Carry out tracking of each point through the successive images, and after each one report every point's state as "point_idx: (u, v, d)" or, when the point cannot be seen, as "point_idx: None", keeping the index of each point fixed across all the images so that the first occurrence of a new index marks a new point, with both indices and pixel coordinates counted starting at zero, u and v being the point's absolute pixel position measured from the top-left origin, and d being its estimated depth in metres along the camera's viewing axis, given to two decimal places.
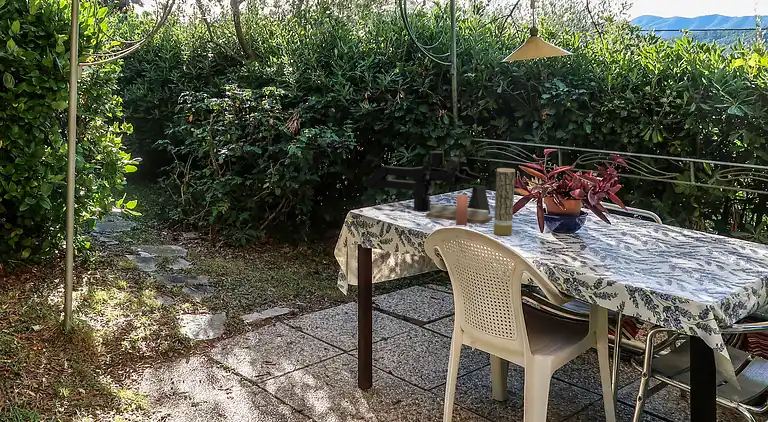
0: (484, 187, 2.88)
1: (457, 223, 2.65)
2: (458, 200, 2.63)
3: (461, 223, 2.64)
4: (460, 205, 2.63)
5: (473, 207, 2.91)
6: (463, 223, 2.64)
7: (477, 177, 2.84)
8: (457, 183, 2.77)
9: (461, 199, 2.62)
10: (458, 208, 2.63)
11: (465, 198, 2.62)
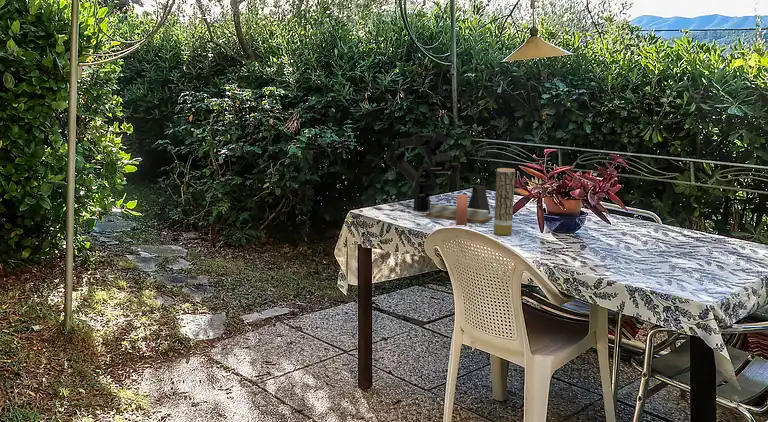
0: (484, 187, 2.88)
1: (457, 223, 2.65)
2: (458, 200, 2.63)
3: (461, 223, 2.64)
4: (460, 205, 2.63)
5: (473, 207, 2.91)
6: (463, 223, 2.64)
7: (453, 183, 2.78)
8: (426, 178, 2.77)
9: (461, 199, 2.62)
10: (458, 208, 2.63)
11: (465, 198, 2.62)
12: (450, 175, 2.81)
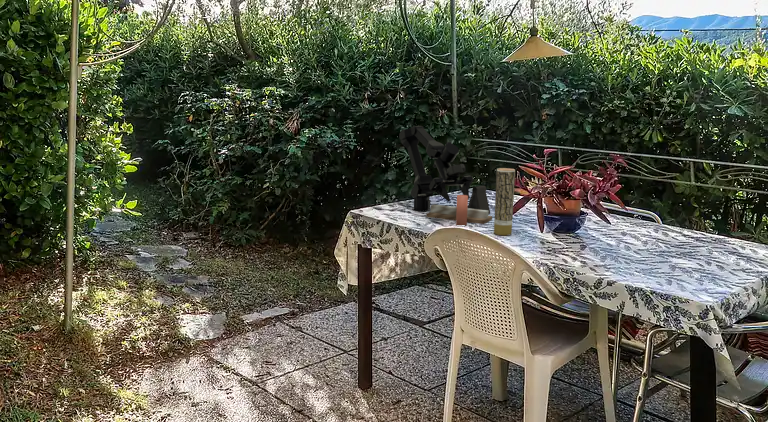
0: (484, 187, 2.88)
1: (457, 223, 2.65)
2: (458, 200, 2.63)
3: (461, 223, 2.64)
4: (460, 205, 2.63)
5: (473, 207, 2.91)
6: (463, 223, 2.64)
7: None
8: (438, 191, 2.68)
9: (461, 199, 2.62)
10: (458, 208, 2.63)
11: (465, 198, 2.62)
12: (463, 188, 2.72)
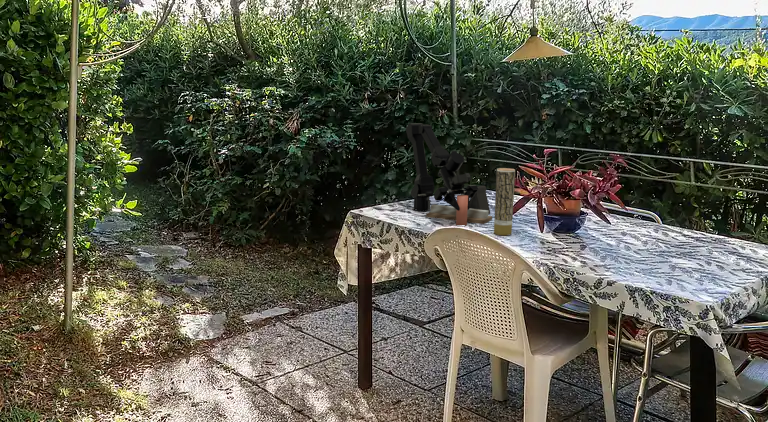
0: (484, 187, 2.88)
1: (457, 223, 2.65)
2: (458, 200, 2.63)
3: (461, 223, 2.64)
4: (460, 205, 2.63)
5: (473, 207, 2.91)
6: (463, 223, 2.64)
7: None
8: (447, 200, 2.66)
9: (461, 199, 2.62)
10: None
11: (465, 198, 2.62)
12: None
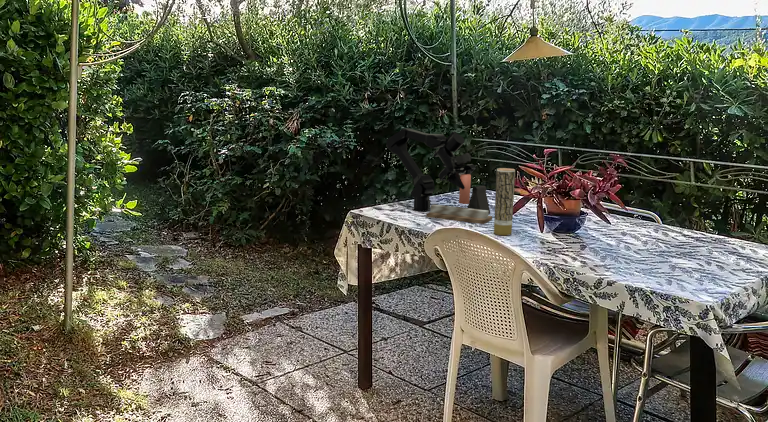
0: (484, 187, 2.88)
1: (461, 201, 2.75)
2: (463, 179, 2.72)
3: (465, 201, 2.74)
4: (464, 184, 2.72)
5: (473, 207, 2.91)
6: (467, 201, 2.74)
7: None
8: (451, 180, 2.74)
9: (466, 177, 2.72)
10: None
11: (469, 177, 2.72)
12: None
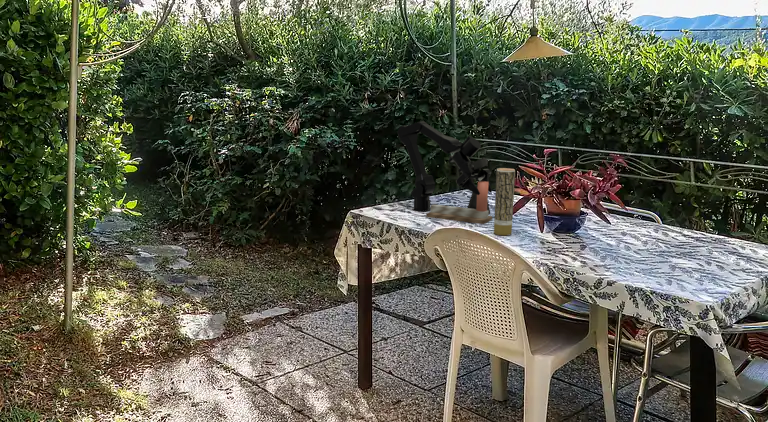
0: None
1: (479, 209, 2.71)
2: (480, 186, 2.69)
3: (483, 208, 2.71)
4: (482, 191, 2.69)
5: (473, 207, 2.91)
6: (485, 208, 2.71)
7: (489, 190, 2.74)
8: (465, 186, 2.69)
9: (484, 185, 2.69)
10: (480, 194, 2.70)
11: (487, 184, 2.69)
12: None
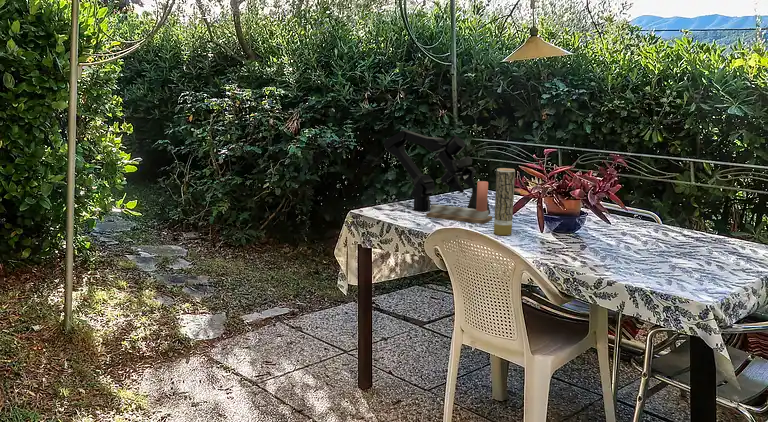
0: None
1: (479, 209, 2.71)
2: (480, 186, 2.69)
3: (483, 209, 2.71)
4: (482, 191, 2.69)
5: (473, 207, 2.91)
6: (485, 208, 2.71)
7: (473, 188, 2.79)
8: (449, 184, 2.74)
9: (484, 185, 2.69)
10: (480, 194, 2.70)
11: (487, 184, 2.69)
12: (467, 179, 2.81)
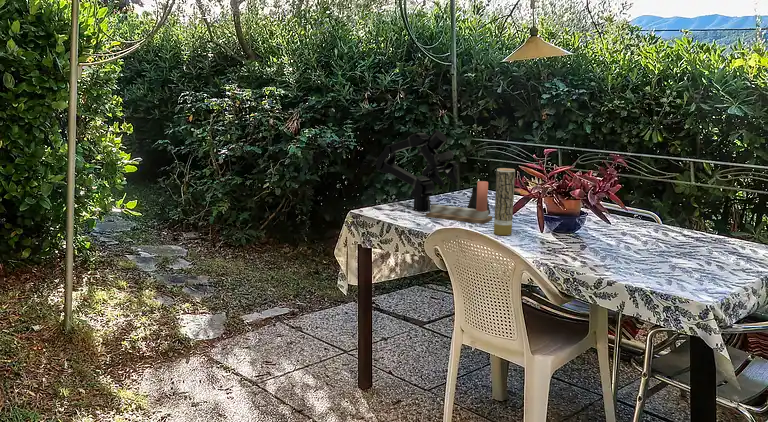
0: None
1: (479, 209, 2.71)
2: (480, 186, 2.69)
3: (483, 209, 2.71)
4: (482, 191, 2.69)
5: (473, 207, 2.91)
6: (485, 208, 2.71)
7: (455, 181, 2.84)
8: (431, 177, 2.79)
9: (484, 185, 2.69)
10: (480, 194, 2.70)
11: (487, 184, 2.69)
12: (449, 173, 2.87)
